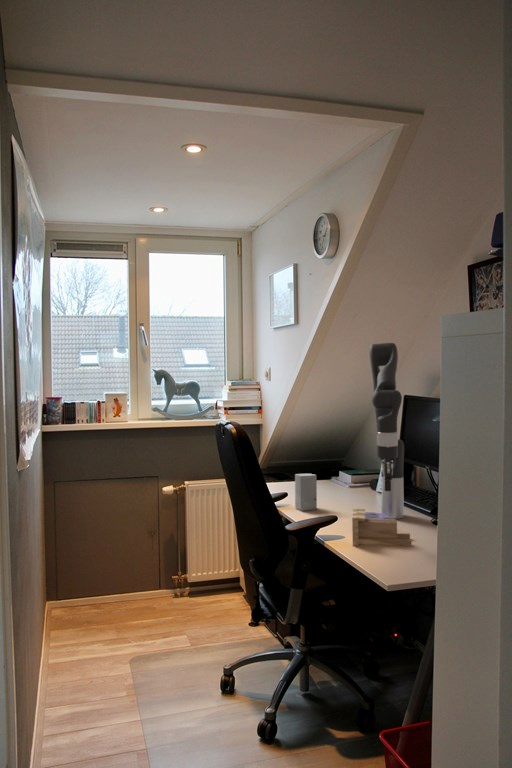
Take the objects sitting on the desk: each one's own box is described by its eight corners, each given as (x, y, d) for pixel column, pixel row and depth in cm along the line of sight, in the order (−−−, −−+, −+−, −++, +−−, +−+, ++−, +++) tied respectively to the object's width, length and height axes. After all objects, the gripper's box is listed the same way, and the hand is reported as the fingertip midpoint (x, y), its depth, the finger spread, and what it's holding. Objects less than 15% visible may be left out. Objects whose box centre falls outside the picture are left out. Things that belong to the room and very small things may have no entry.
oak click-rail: (353, 535, 244) (353, 508, 243) (409, 536, 240) (409, 510, 239) (352, 545, 230) (352, 518, 229) (412, 547, 226) (411, 519, 226)
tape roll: (389, 525, 257) (389, 513, 257) (382, 533, 246) (382, 520, 246) (361, 522, 262) (361, 510, 262) (353, 529, 252) (352, 517, 251)
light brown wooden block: (358, 539, 239) (358, 518, 238) (396, 540, 236) (396, 519, 236) (358, 543, 234) (358, 521, 233) (397, 544, 231) (396, 522, 231)
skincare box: (301, 511, 282) (300, 476, 281) (294, 508, 288) (293, 473, 288) (318, 509, 285) (317, 474, 284) (310, 506, 292) (310, 472, 291)
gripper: (376, 441, 240) (376, 487, 241) (377, 446, 227) (378, 494, 228) (396, 441, 239) (396, 487, 239) (399, 446, 226) (399, 494, 226)
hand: (387, 490), depth 233 cm, fingers closed
